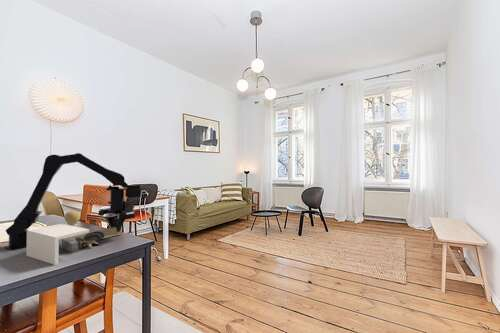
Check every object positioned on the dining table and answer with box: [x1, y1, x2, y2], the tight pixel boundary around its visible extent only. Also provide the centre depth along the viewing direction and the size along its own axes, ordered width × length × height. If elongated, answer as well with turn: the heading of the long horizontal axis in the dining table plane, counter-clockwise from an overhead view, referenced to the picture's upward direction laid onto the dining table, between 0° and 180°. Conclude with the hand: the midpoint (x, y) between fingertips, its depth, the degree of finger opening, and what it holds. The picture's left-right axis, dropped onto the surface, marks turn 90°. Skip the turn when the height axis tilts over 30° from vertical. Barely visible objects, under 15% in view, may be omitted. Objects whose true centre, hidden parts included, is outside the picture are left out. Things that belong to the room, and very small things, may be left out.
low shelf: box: [25, 223, 90, 266], centre depth 92 cm, size 18×12×10 cm, turn 66°
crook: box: [60, 226, 123, 254], centre depth 107 cm, size 10×24×4 cm, turn 148°
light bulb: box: [64, 210, 81, 227], centre depth 124 cm, size 6×6×10 cm
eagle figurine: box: [75, 230, 105, 251], centre depth 101 cm, size 8×7×9 cm
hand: (116, 231), depth 118 cm, fingers closed on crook, 3 cm apart
